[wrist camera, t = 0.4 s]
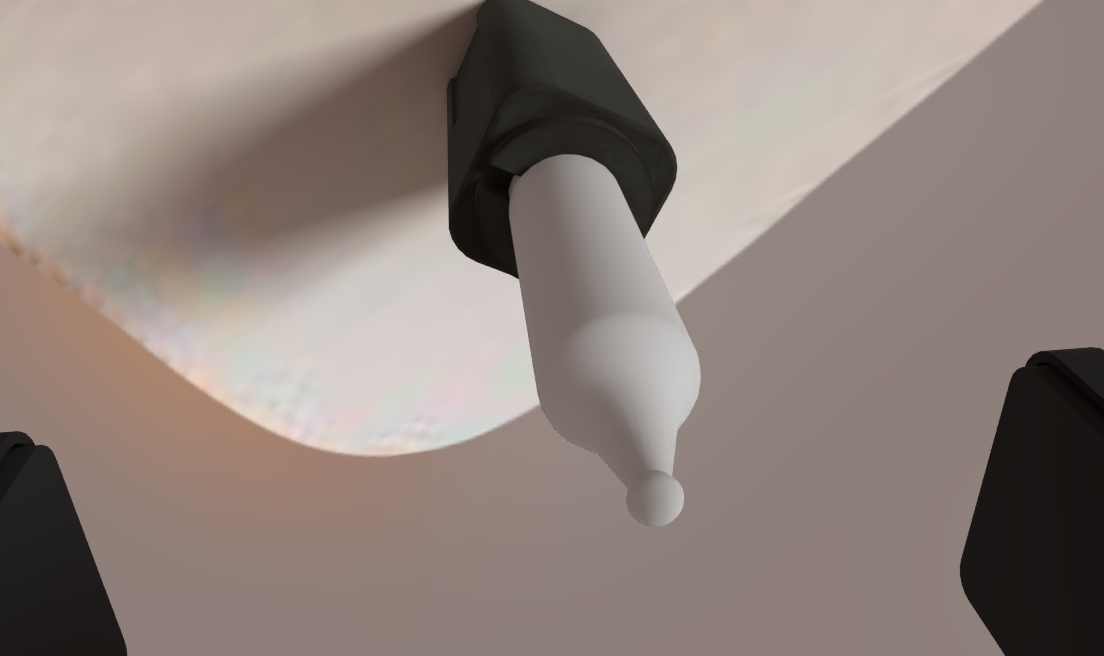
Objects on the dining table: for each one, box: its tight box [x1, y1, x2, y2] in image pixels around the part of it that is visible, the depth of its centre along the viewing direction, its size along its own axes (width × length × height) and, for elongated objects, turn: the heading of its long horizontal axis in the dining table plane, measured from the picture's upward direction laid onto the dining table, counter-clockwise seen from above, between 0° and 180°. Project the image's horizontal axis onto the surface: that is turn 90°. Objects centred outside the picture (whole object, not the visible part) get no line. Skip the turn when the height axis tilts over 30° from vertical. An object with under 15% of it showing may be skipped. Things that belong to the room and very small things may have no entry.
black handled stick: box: [447, 0, 701, 527], centre depth 24 cm, size 5×5×25 cm
